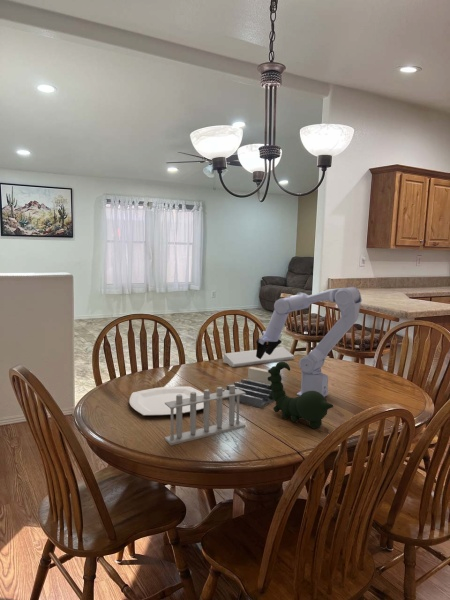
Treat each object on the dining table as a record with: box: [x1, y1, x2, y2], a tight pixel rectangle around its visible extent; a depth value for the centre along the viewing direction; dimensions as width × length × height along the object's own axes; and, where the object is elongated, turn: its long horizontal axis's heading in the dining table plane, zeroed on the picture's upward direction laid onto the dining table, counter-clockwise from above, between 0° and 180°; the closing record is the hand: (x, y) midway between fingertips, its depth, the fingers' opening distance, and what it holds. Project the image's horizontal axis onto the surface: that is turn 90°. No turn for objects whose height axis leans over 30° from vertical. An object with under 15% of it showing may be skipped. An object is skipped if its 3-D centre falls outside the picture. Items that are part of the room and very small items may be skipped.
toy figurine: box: [267, 361, 334, 429], centre depth 135 cm, size 9×19×25 cm
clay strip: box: [247, 366, 283, 385], centre depth 172 cm, size 14×2×6 cm, turn 55°
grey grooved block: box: [222, 378, 274, 409], centre depth 158 cm, size 18×16×3 cm
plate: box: [128, 385, 204, 417], centre depth 150 cm, size 27×27×2 cm
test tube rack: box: [164, 384, 246, 446], centre depth 126 cm, size 25×4×13 cm, turn 121°
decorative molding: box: [222, 346, 295, 368], centre depth 208 cm, size 34×5×10 cm
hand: (263, 355), depth 171 cm, fingers open, 7 cm apart
